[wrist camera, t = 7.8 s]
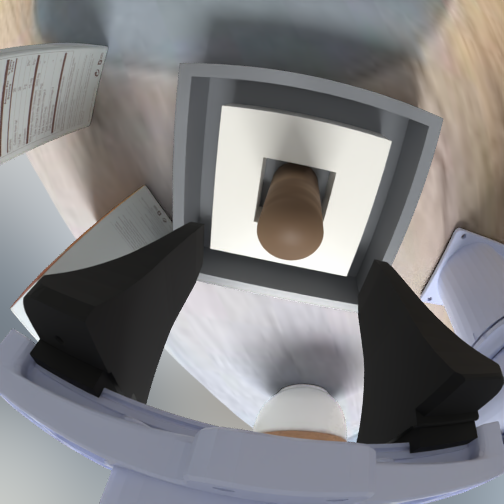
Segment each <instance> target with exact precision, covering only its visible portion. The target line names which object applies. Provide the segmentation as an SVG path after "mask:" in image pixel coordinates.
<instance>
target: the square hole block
mask: <svg viewBox="0 0 504 504" xmlns="http://www.w3.org/2000/svg"><path fill="white" fill-rule="evenodd" d="M442 122H443V118H441V117H439V116H436V115H434V114H432V113H429V112H427V111H425V110H422V109H420V108H417V107H415V106H412V105H410V104H407V103H405V102H402V101H399V100H396V99H394V98H391V97H388V96H385V95H382V94H379V93H376V92H372V91H369V90H366V89H362V88H359V87H355V86H352V85H348V84H344V83H340V82H336V81H332V80H328V79H324V78H319V77H314V76H309V75H304V74H299V73H293V72H287V71H281V70H274V69H267V68H259V67H250V66H239V65H226V64H205V63H180V65H179V75H178V86H177V98H176V111H175V128H174V150H173V231H174V230H176V229H177V228H179V227H181V226H183V225H185V224H187V223H189V222H196V223H201V224H205V226H204V249H203V265H202V268H201V270H200V273H199V276H198V278H197V281H201V282H205V283H210V284H214V285H218V286H223V287H227V288H232V289H237V290H241V291H246V292H251V293H255V294H260V295H265V296H270V297H275V298H280V299H285V300H290V301H295V302H300V303H305V304H311V305H316V306H321V307H327V308H332V309H338V310H344V311H349V312H355V313H358V294H359V292H360V290H361V288H362V286H363V284H364V281H365V279H366V277H367V275H368V272H369V270H370V268H371V266H372V263H373V261H374V259H376V260H380V261H385V262H387V263H389V264H390V265H392V263H393V261H394V259H395V256H396V254H397V252H398V250H399V247H400V245H401V243H402V241H403V238H404V236H405V233H406V231H407V229H408V226H409V224H410V221H411V219H412V216H413V214H414V211H415V208H416V206H417V203H418V200H419V198H420V195H421V192H422V189H423V186H424V184H425V181H426V178H427V175H428V171H429V168H430V165H431V162H432V159H433V155H434V152H435V149H436V145H437V141H438V138H439V134H440V130H441V126H442ZM289 162H291V163H296V164H301V165H305V166H309V167H310V168H311V169H312V170H313V171H314V172H315V174H316V176H317V179H318V186H319V194H320V202H321V210H322V219H323V229H324V235H323V240H322V242H321V245H320V246H319V248H318V249H317V250H316V251H315V252H314V253H313V254H311V255H310V256H308V257H306V258H304V259H300V260H293V261H290V260H283V259H279V258H277V257H274V256H273V255H271V254H269V253H268V252H267V251H266V250H265V249H264V248H263V247H262V245H261V244H260V242H259V239H258V236H257V224H258V220H259V217H260V214H261V211H262V208H263V205H264V202H265V199H266V196H267V193H268V190H269V187H270V184H271V181H272V178H273V176H274V173H275V172H276V170H277V169H278V168H279V167H280V166H282V165H284V164H286V163H289Z"/></svg>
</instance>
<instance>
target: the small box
mask: <svg viewBox="0 0 504 504" xmlns="http://www.w3.org/2000/svg"><path fill="white" fill-rule="evenodd" d="M172 231H173V223H172V222H171V220H170V219H169V218H168V216H167V215H166V213H165V212H164V211H163V209H162V208H161V206H160V205H159V203H158V202H157V201H156V199H155V198H154V197H153V195H152V194H151V192H150V191H149V190H148V188H147V187H146V186H145V185H143V186H142V187H141V188H139V189H138V190H137V191H135V192H134V193H133V194H131V195H130V196H129V197H127V198H126V199H125V200H124V201H122V202H121V203H120V204H118V205H117V206H116V207H115V208H113V209H112V210H111V211H110V212H109V213H107V214H106V215H105V216H104V217H103V218H101V219H100V220H99V221H98V222H96V223H95V224H94V225H93V226H92V227H90V228H89V229H88V230H87V231H86V232H85V233H83V234H82V235H81V236H80V237H79V238H78V239H77V240H76V241H74V242H73V243H72V244H71V245H70V246H69V247H68V248H67V249H66V250H65V251H64V252H63V253H61V254H60V256H58V257H57V258H56V259H55V260H54V261H53V262H52V263H51V264H50V265H49V266H48V267H47V268H46V269H45V270H44V271H43V272H42V273H41V274H40V275H39V276H38V277H37V278H36V279H35V280H34V281H33V282H32V283H31V284H30V285H29V286H28V287H27V289H26V290H25V291H24V292H23V293H22V294H21V295H20V297H19V298H18V299H17V300H16V301H15V302H14V304H13V305H12V306H11V307H10V309H11V310H12V312H13V313H14V314H15V315H16V317H17V318H18V319H19V320H20V321H21V322H22V324H23V325H24V326H25V327H26V328H27V329H28V331H29V332H30V333H31V334H32V335H33V336H34V337H35V338H36V340H37V341H39V340H40V338H39V336H38V335H37V333H36V331H35V330H34V328H33V326H32V324H31V322H30V321H29V319H28V317H27V315H26V313H25V310H24V306H23V297H24V296H25V295H26V294H27V293H28V292H29V291H30V289H31V288H32V287H33V286H34V285H35V284H36V283H37V282H38V281H39V280H40V279H41V278H42V276H43V275H50V274H56V273H63V272H69V271H74V270H79V269H84V268H87V267H91V266H95V265H98V264H101V263H104V262H108V261H111V260H114V259H117V258H119V257H122V256H124V255H127V254H129V253H131V252H134V251H136V250H138V249H140V248H142V247H144V246H146V245H148V244H150V243H152V242H154V241H156V240H158V239H160V238H161V237H163V236H165V235H167V234H169V233H170V232H172Z"/></svg>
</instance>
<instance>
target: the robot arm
mask: <svg viewBox="0 0 504 504" xmlns="http://www.w3.org/2000/svg"><path fill="white" fill-rule="evenodd" d="M204 226H205V224H201V223H196V222H189V223H187V224H185V225H183V226H181V227H179V228H177V229H176V230H174V231H172V232H170V233H169V234H167V235H165V236H163V237H161V238H160V239H158V240H156V241H154V242H152V243H150V244H148V245H146V246H144V247H142V248H140V249H138V250H136V251H134V252H131V253H129V254H127V255H124V256H122V257H119V258H117V259H114V260H111V261H108V262H104V263H101V264H98V265H95V266H91V267H87V268H84V269H79V270H74V271H69V272H63V273H56V274H50V275H43V276H42V278H41V279H40V280H39V281H38V282H37V283H36V284H35V285H34V286H33V287H32V288H31V289H30V291H29V292H28V293H27V294H26V295H25V296H24V297H23V306H24V310H25V313H26V315H27V317H28V319H29V321H30V322H31V324H32V326H33V328H34V330H35V331H36V333H37V335H38V336H39V338H40V340H39V341H38V343H37V344H35V343H34V342H33V341H31V340H30V339H29V338H28V337H26V336H25V335H23V334H21V333H20V332H18V331H17V330H15V329H11V331H10V332H9V333H8V335H7V336H6V337H5V338H4V340H3V341H2V342H1V344H0V396H1V397H2V398H3V399H4V400H6V401H7V402H8V403H9V404H10V405H11V406H12V407H13V408H14V409H16V410H17V411H18V412H19V413H21V414H22V415H23V416H24V417H26V418H27V419H28V420H30V421H31V422H32V423H34V424H35V425H37V426H38V427H39V428H41V429H42V430H43V431H45V432H46V433H48V434H49V435H51V436H52V437H54V438H55V439H57V440H58V441H60V442H61V443H63V444H64V445H66V446H68V447H69V448H71V449H73V450H74V451H76V452H78V453H79V454H81V455H83V456H85V457H87V458H88V459H90V460H92V461H94V462H96V463H98V464H100V465H101V466H103V467H105V468H107V469H110V470H111V474H110V477H109V479H108V482H107V484H106V487H105V490H104V492H103V495H102V497H101V500H100V502H99V504H425V503H430V502H433V501H437V500H440V499H444V498H447V497H450V496H453V495H457V494H460V493H463V492H465V491H468V490H470V489H473V488H475V487H477V486H479V485H482V484H484V483H486V482H488V481H490V480H492V479H494V478H496V477H498V476H500V475H502V474H504V244H502V243H499V242H497V241H494V240H492V239H489V238H486V237H484V236H481V235H478V234H476V233H473V232H470V231H467V230H465V229H462V228H457V229H456V230H455V231H454V233H453V235H452V237H451V240H450V242H449V244H448V246H447V248H446V250H445V252H444V254H443V256H442V258H441V260H440V262H439V264H438V266H437V267H436V269H435V271H434V273H433V275H432V277H431V279H430V280H429V282H428V284H427V286H426V287H425V289H424V291H423V293H422V294H421V296H420V298H421V300H420V299H419V298H418V296H417V295H416V294H415V293H414V292H413V291H412V289H411V288H410V287H409V286H408V285H407V284H406V282H405V281H404V280H403V279H402V278H401V276H400V275H399V274H398V273H397V272H396V271H395V270H394V268H393V267H392V266H391V265H390V264H389V263H387V262H385V261H380V260H376V259H374V261H373V263H372V266H371V268H370V270H369V272H368V275H367V277H366V279H365V281H364V284H363V286H362V288H361V290H360V292H359V294H358V318H359V325H360V333H361V340H362V348H363V356H364V393H363V406H362V414H361V421H360V428H359V433H358V438H357V443H355V442H341V441H324V440H312V439H301V438H293V437H285V436H278V435H271V434H265V433H259V432H253V431H248V430H242V429H233V428H226V427H219V426H214V425H211V424H207V423H202V422H199V421H195V420H192V419H188V418H185V417H182V416H178V415H175V414H172V413H169V412H166V411H163V410H160V409H157V408H154V407H151V406H148V405H146V403H147V399H148V395H149V391H150V388H151V384H152V381H153V378H154V374H155V372H156V368H157V365H158V363H159V360H160V357H161V354H162V351H163V348H164V346H165V343H166V341H167V338H168V335H169V333H170V330H171V328H172V326H173V324H174V322H175V320H176V318H177V316H178V314H179V312H180V311H181V309H182V307H183V305H184V303H185V302H186V300H187V298H188V296H189V294H190V292H191V291H192V289H193V287H194V285H195V283H196V281H197V278H198V276H199V273H200V270H201V268H202V265H203V249H204ZM463 234H464V236H463V237H462V235H463ZM429 297H430V298H429ZM423 302H426V303H432V304H438V305H443V306H444V307H445V309H446V312H447V314H448V317H449V319H450V322H451V324H452V327H453V329H454V332H455V333H453V332H452V331H451V330H450V329H449V328H448V327H447V326H445V325H444V324H443V323H442V322H441V321H440V320H439V319H438V318H437V317H436V316H435V315H434V314H433V313H432V312H431V311H430V310H429V309H428V308H427V306H426V305H425V304H424V303H423Z"/></svg>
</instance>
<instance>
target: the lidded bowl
mask: <svg viewBox="0 0 504 504" xmlns="http://www.w3.org/2000/svg"><path fill="white" fill-rule="evenodd" d="M253 432H259V433H265V434H271V435H278V436H285V437H293V438H301V439H312V440H324V441H341V442H347V425H346V419H345V416H344V413H343V410H342V408H341V406H340V405H339V403H338V402H337V401H336V400H335V399H334V398H333V397H332V396H330V395H329V394H328V392H327V391H326V390H325V389H323V388H321V387H319V386H315V385H309V384H296V385H290V386H287V387H284V388H283V389H281V390H280V391H279V393H277V394H276V395H274V396H273V397H271V398H270V399H269V400H268V401H267V402H266V403H265V404H264V405H263V407H262V408H261V410H260V411H259V413H258V415H257V418H256V420H255V423H254V427H253Z"/></svg>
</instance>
